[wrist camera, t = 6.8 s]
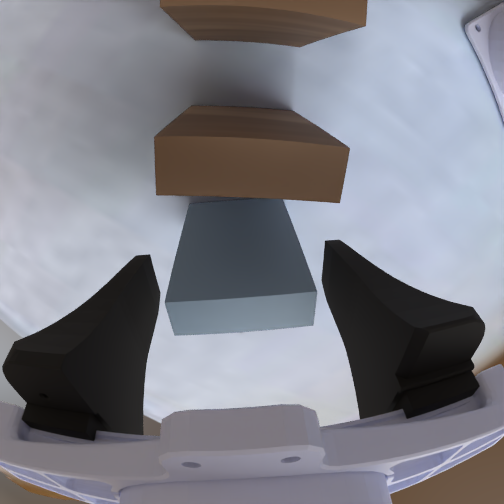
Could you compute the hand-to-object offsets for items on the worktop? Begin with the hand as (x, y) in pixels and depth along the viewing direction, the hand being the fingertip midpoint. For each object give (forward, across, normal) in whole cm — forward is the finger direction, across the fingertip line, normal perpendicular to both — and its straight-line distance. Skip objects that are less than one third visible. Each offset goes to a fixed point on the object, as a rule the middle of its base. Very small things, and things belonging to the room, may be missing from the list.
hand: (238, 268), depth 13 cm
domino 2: (+5, -1, -5) cm, 7 cm away
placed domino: (+5, 0, 0) cm, 5 cm away
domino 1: (+5, -1, -10) cm, 11 cm away
